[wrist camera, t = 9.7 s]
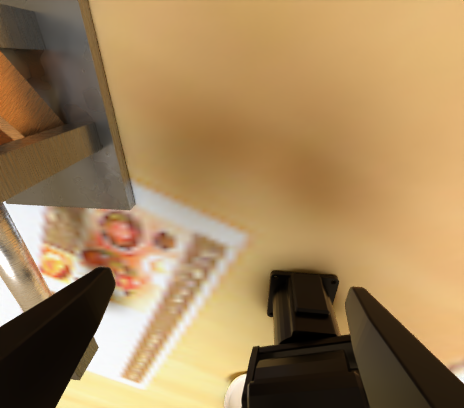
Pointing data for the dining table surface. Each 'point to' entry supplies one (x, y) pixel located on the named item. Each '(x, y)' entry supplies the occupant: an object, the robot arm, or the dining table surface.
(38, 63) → the bracket
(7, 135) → the block
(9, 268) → the shaft
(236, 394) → the spread jar
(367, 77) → the dining table surface
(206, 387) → the dining table surface
